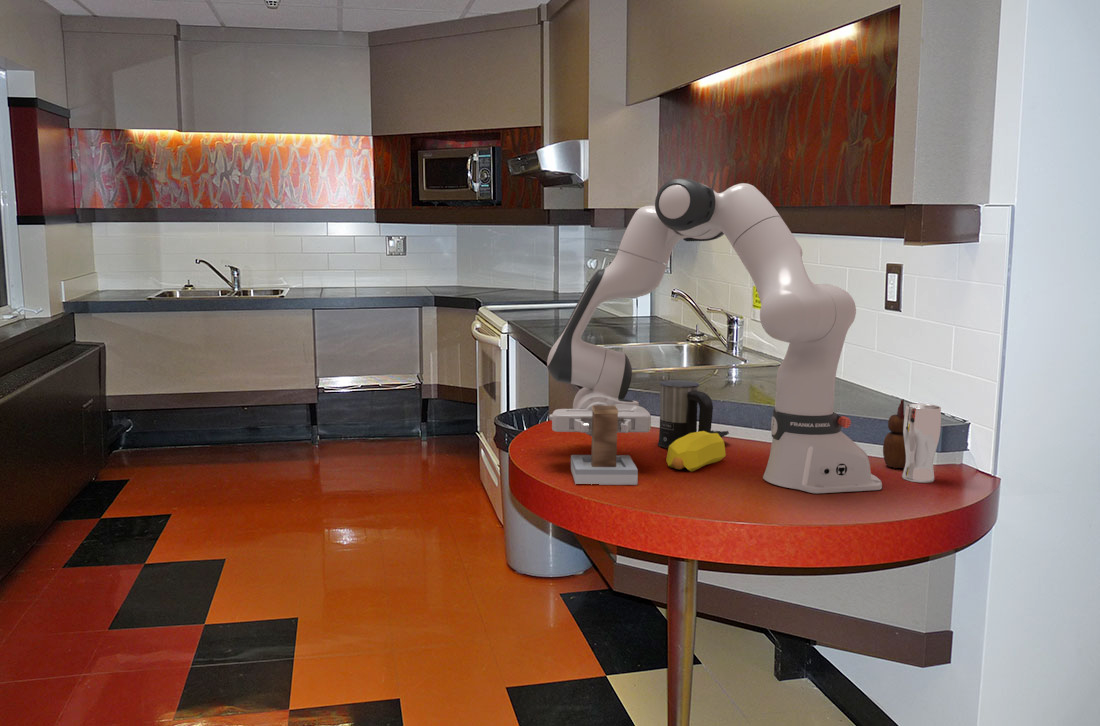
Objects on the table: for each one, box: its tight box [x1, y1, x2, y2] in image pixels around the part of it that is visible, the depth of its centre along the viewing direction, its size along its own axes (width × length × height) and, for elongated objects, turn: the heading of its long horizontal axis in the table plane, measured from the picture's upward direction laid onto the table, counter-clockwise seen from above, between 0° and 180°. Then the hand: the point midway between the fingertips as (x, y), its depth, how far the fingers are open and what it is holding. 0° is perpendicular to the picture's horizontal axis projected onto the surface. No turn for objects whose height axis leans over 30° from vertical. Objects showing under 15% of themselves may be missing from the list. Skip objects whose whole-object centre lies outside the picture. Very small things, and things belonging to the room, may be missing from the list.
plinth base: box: [570, 454, 639, 486], centre depth 183 cm, size 12×12×3 cm
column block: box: [590, 406, 618, 467], centre depth 182 cm, size 5×5×12 cm
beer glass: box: [901, 402, 942, 484], centre depth 185 cm, size 7×7×15 cm
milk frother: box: [657, 379, 730, 449], centre depth 213 cm, size 14×16×15 cm
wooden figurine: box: [882, 398, 905, 469], centre depth 195 cm, size 7×6×15 cm
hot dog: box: [665, 431, 727, 472], centre depth 195 cm, size 18×7×8 cm
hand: (604, 428), depth 181 cm, fingers open, 6 cm apart
